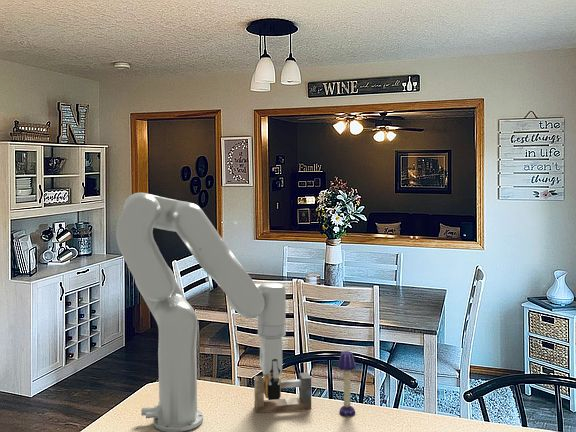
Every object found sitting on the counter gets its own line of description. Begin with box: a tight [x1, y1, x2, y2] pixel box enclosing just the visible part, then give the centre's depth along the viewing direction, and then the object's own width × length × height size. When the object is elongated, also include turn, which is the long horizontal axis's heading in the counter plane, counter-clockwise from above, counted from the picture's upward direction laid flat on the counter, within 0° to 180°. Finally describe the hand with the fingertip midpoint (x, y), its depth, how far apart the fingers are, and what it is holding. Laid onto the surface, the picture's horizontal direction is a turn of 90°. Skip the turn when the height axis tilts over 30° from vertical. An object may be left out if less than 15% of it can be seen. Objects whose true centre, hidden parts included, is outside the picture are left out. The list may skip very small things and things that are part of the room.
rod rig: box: [253, 372, 312, 414], centre depth 155 cm, size 15×4×8 cm, turn 101°
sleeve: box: [262, 373, 282, 399], centre depth 154 cm, size 4×5×5 cm
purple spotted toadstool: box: [337, 350, 356, 417], centre depth 151 cm, size 5×5×17 cm
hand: (271, 393), depth 154 cm, fingers open, 5 cm apart
